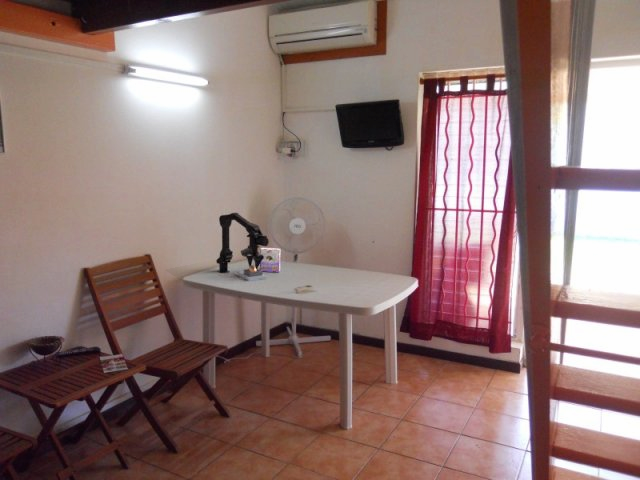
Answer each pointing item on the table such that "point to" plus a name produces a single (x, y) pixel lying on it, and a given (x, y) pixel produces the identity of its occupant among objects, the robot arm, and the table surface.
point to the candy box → (270, 260)
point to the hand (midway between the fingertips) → (253, 267)
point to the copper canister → (252, 268)
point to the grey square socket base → (251, 275)
